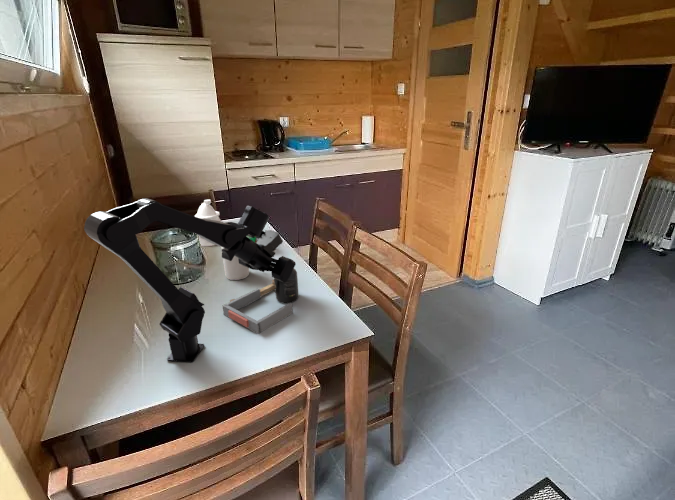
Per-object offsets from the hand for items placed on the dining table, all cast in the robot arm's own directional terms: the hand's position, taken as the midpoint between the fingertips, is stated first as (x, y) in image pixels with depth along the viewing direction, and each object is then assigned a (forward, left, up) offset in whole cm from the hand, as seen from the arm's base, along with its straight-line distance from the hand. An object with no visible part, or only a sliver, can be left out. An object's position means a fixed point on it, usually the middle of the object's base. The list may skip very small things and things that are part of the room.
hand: (283, 273), depth 110 cm
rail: (+1, +9, -8) cm, 13 cm away
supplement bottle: (+1, 0, -9) cm, 9 cm away
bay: (-8, +6, -8) cm, 13 cm away
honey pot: (+47, +45, -9) cm, 65 cm away
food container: (+39, +24, -9) cm, 46 cm away
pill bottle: (+15, +21, -9) cm, 27 cm away
